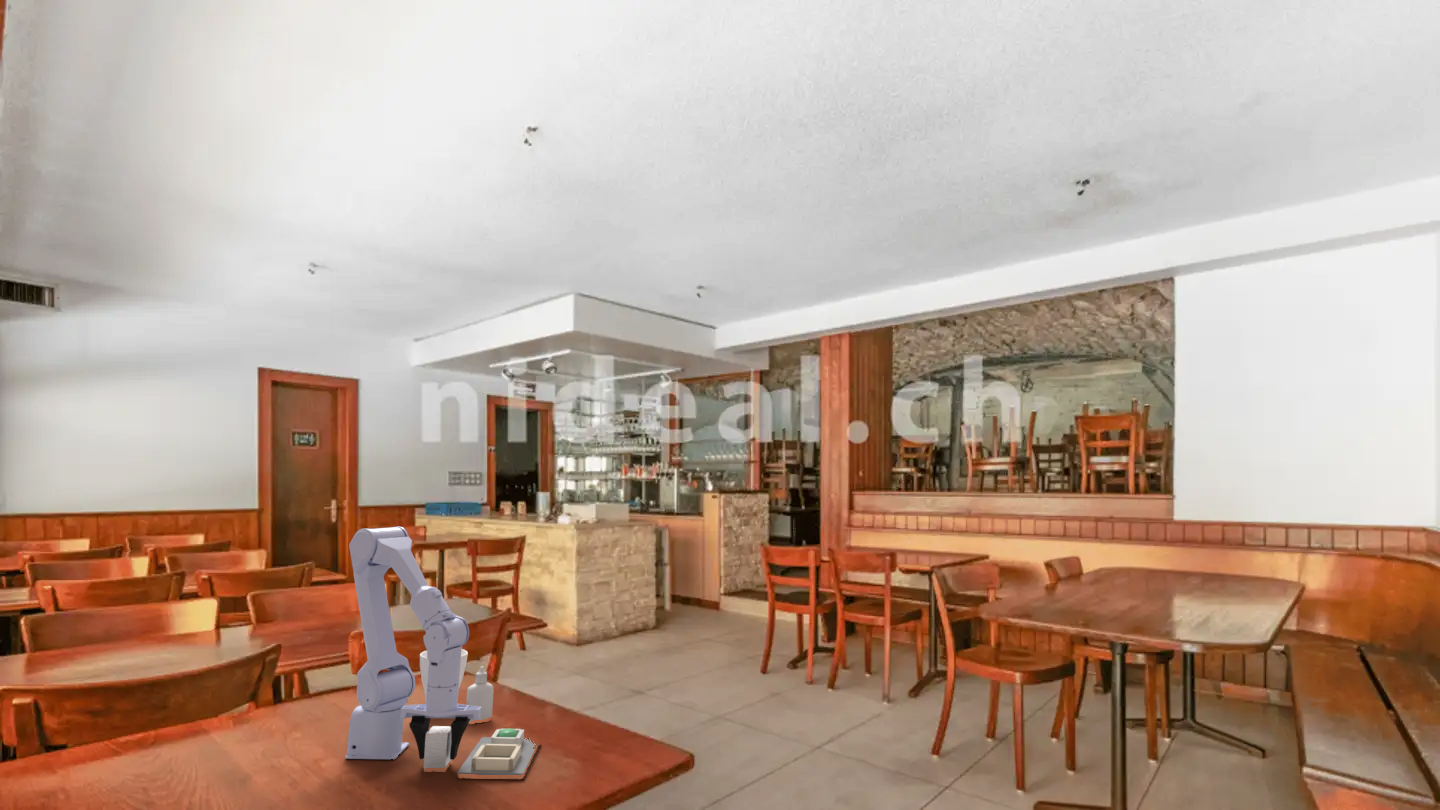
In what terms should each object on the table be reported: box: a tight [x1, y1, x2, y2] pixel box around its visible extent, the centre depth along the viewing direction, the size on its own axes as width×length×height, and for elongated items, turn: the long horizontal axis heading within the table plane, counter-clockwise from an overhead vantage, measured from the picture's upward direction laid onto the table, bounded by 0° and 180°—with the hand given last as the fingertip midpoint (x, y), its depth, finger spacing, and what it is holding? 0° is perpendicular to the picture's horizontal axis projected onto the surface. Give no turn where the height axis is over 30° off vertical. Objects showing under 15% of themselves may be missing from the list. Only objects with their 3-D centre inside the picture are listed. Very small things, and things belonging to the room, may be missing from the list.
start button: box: [500, 727, 516, 737], centre depth 151 cm, size 3×3×2 cm
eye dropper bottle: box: [465, 665, 494, 721], centre depth 168 cm, size 4×6×12 cm
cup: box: [419, 648, 469, 702], centre depth 172 cm, size 10×10×14 cm
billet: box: [422, 725, 452, 769], centre depth 142 cm, size 4×4×7 cm
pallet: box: [456, 728, 537, 775], centre depth 146 cm, size 12×18×3 cm, turn 3°
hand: (438, 757), depth 142 cm, fingers open, 5 cm apart
